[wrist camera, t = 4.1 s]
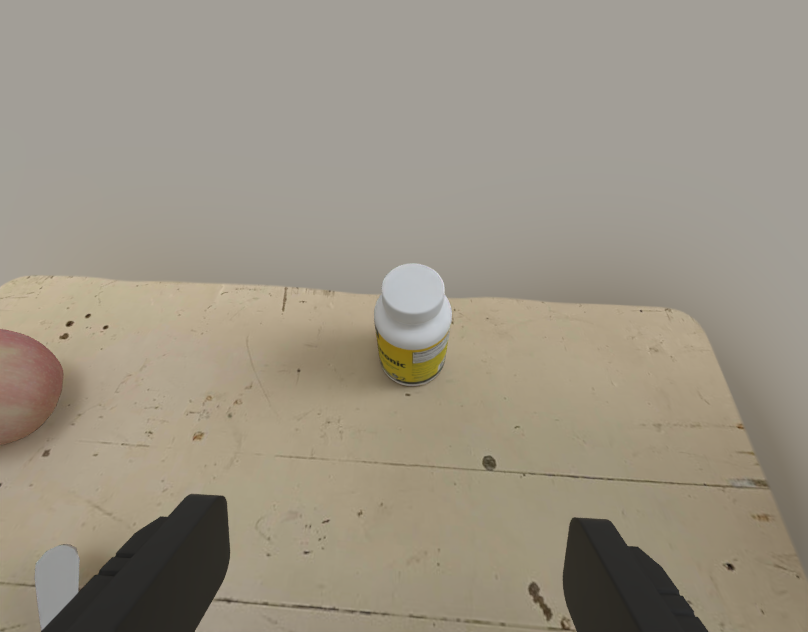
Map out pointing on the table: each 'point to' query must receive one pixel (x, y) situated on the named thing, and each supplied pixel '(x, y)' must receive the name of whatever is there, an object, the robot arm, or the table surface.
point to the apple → (26, 385)
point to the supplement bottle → (412, 324)
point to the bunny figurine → (56, 581)
